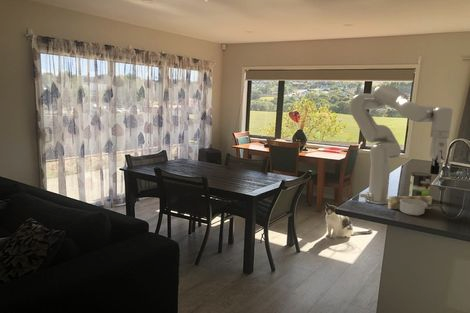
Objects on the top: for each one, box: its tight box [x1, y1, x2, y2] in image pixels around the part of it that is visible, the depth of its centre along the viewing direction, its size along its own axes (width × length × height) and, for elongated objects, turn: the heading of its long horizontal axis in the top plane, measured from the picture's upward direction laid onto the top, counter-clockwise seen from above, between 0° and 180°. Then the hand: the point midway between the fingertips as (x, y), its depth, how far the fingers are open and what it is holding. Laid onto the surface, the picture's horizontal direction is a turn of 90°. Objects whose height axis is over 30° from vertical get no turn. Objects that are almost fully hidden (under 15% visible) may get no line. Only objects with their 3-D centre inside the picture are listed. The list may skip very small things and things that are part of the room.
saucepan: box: [399, 199, 447, 216], centre depth 176 cm, size 12×20×6 cm, turn 72°
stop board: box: [387, 195, 433, 210], centre depth 184 cm, size 22×2×6 cm, turn 97°
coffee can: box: [408, 171, 433, 196], centre depth 204 cm, size 10×10×14 cm
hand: (434, 173), depth 170 cm, fingers closed
